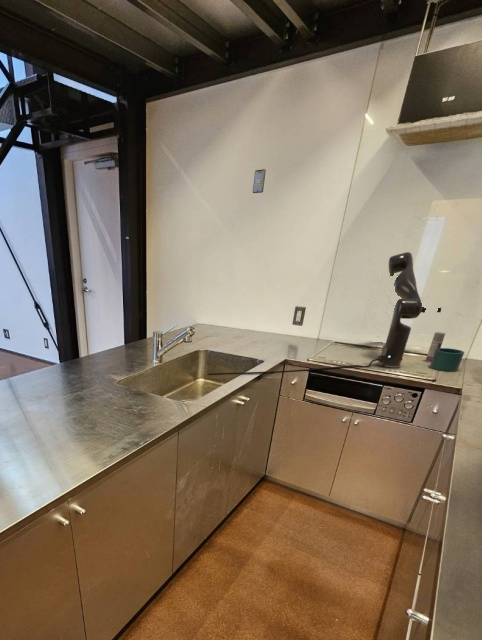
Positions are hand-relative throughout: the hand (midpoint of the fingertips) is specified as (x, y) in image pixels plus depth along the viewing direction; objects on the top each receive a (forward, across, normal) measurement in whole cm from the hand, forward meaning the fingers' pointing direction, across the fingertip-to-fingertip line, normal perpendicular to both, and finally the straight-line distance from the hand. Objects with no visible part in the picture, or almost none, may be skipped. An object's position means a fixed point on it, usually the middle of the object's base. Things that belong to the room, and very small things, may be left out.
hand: (432, 310), depth 205 cm
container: (+11, 0, +25) cm, 27 cm away
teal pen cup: (+25, -2, +25) cm, 35 cm away
